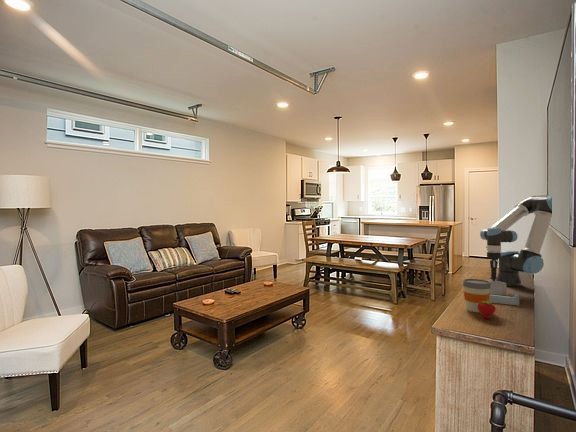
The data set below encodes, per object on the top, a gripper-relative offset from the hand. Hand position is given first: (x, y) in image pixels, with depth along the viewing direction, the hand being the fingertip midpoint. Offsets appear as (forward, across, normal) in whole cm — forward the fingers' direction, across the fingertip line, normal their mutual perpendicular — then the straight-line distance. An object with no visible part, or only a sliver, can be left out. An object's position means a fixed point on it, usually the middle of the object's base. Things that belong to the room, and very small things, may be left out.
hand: (493, 288), depth 212 cm
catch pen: (+2, +22, 0) cm, 22 cm away
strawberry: (+2, +64, -6) cm, 64 cm away
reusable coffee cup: (+2, +50, -10) cm, 51 cm away
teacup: (+2, +10, 0) cm, 10 cm away
